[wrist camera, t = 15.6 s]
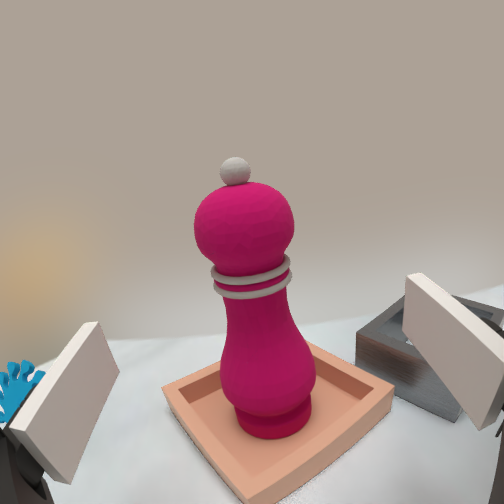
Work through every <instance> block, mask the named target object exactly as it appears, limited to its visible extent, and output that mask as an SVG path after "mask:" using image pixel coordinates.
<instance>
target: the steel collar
mask: <svg viewBox="0 0 504 504" xmlns="http://www.w3.org/2000/svg"><path fill="white" fill-rule="evenodd" d="M451 296H452V297H453V298H455V299H456V300H457V301H459V302H460V303H461V304H462V305H464V306H465V307H466V308H467V309H468V310H470V311H471V312H472V313H473V314H475V315H476V316H477V317H478V318H481V317H484V318H486V319H488V320H490V321H493V322H494V323H496V324H497V325H498V326H499V327H501V328H502V327H503V323H504V310H503V309H499V308H496V307H492V306H489V305H485V304H482V303H478V302H475V301H471V300H467V299H464V298H460V297H457V296H453V295H451ZM404 301H405V295H404V296H403V297H402V298H401V299H399V300H398V301H397V302H396V303H394V304H393V305H392V306H390V307H389V308H388V309H387V310H385V311H384V312H383V313H381V314H380V315H379V316H378V317H376V318H375V319H374V320H372V321H371V322H370V323H368V324H367V325H366V326H364V327H363V328H361V329H360V330H359V331H357V332H356V358H355V366H356V367H358V368H360V369H362V370H364V371H366V372H368V373H370V374H372V375H374V376H376V377H378V378H380V379H382V380H384V381H386V382H388V383H390V384H392V385H394V386H395V388H394V395H396V396H398V397H400V398H402V399H404V400H407V401H409V402H411V403H413V404H415V405H417V406H419V407H421V408H423V409H425V410H427V411H430V412H432V413H434V414H436V415H438V416H440V417H442V418H445V419H447V420H449V421H451V422H453V423H455V421H456V420H457V418H458V417H459V415H460V414H461V412H462V411H463V408H462V407H461V405H460V404H459V403H458V401H457V400H456V399H455V397H454V396H453V395H452V393H451V392H450V391H449V389H448V388H447V387H446V385H445V384H444V383H443V382H442V380H441V379H440V378H439V376H438V375H437V374H436V372H435V371H434V370H433V369H432V367H431V366H430V365H429V364H428V362H427V361H426V360H425V359H424V357H423V356H422V355H421V354H420V352H419V351H418V350H417V349H416V347H415V346H412V345H410V344H407V343H405V342H406V341H407V340H408V337H407V336H406V335H405V334H404V333H403V331H402V325H403V314H404Z"/></svg>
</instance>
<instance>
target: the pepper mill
mask: <svg viewBox="0 0 504 504" xmlns="http://www.w3.org/2000/svg"><path fill="white" fill-rule="evenodd" d="M250 173H251V172H250V167H249V165H248V163H247V162H246V161H245V160H243V159H241V158H238V157H234V158H229V159H228V160H226V161H225V162H224V163H223V164H222V166H221V169H220V176H221V178H222V180H223V182H224V183H225V184H227V186H224V187H222V188H219V189H217V190H215V191H214V192H212V193H211V194H209V195H208V196H207V197H206V198H205V199H204V200H203V201H202V202H201V204H200V206H199V207H198V209H197V212H196V214H195V221H194V233H195V239H196V242H197V246H198V248H199V249H200V251H201V253H202V254H203V255H204V256H205V257H207V258H208V259H209V260H211V261H212V262H213V263H214V264H215V265H214V266H213V267H212V269H211V276H212V277H213V278H214V290H215V291H216V292H217V293H218V294H220V295H221V296H223V300H224V304H225V307H226V314H227V337H226V342H225V346H224V350H223V353H222V357H221V362H220V380H221V386H222V390H223V393H224V395H225V397H226V398H227V399H228V401H229V402H230V403H231V404H233V405H234V409H235V413H236V416H237V420H238V422H239V425H240V426H241V427H242V429H243V430H244V431H246V432H247V433H249V434H251V435H253V436H255V437H259V438H263V439H279V438H283V437H287V436H289V435H291V434H293V433H296V432H297V431H299V430H300V429H301V428H302V427H303V426H304V425H305V424H306V423H307V422H308V420H309V418H310V416H311V411H312V405H311V394H310V393H311V391H312V390H313V388H314V385H315V382H316V368H315V362H314V358H313V355H312V353H311V350H310V348H309V346H308V344H307V343H306V341H305V340H304V338H303V336H302V335H301V333H300V332H299V330H298V328H297V327H296V325H295V323H294V321H293V318H292V316H291V313H290V310H289V306H288V301H287V292H286V286H287V285H288V283H289V282H290V281H291V278H292V273H291V271H290V269H289V266H290V259H289V257H288V256H287V255H286V254H284V251H285V250H286V248H287V247H288V245H289V243H290V242H291V239H292V237H293V234H294V219H293V214H292V211H291V208H290V206H289V204H288V202H287V200H286V199H285V198H284V196H283V195H282V194H281V193H280V192H279V191H277V190H275V189H274V188H272V187H270V186H268V185H264V184H261V183H254V182H247V181H248V179H249V178H250Z"/></svg>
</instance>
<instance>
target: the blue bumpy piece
mask: <svg viewBox="0 0 504 504" xmlns="http://www.w3.org/2000/svg"><path fill="white" fill-rule="evenodd" d="M7 367H8V371H9V376H8V374H7V373H5V372H0V385H1V387H2V389H3V393H2V391H0V405H1V406H2V408H3V409H4V412H5V414H4V413H3V412H1V411H0V423H4V422H7V423H8V421H9V420H10V418H11V417H12V415H13V414H14V412H15V411H16V409H17V408H18V407H20V404H21V402H22V401H23V400H24V398H25V396H26V395H27V394H28V392H29V391H30V389H32V388H33V387H34V386H35V385H36V384H38V383H39V382H40V381H41V379H42V378H43V377H44V375H45V374H46V373H45V372H44V371H40V370H38V371H36V373H35V375H34V377H33V379H32V380H31V381H29V382H28V381H27V377H28V375H29V374H31V373H33V372H34V369H35V367H34V365H33V364H32V363H31V362H29V361H26V360H23V361H22V363H21V371H20V365H19V364H18V363H15V362H8V365H7ZM19 371H20V375H19V377H18V379H17V374H18V373H19ZM8 382H9V386H8ZM3 394H4V396H3Z"/></svg>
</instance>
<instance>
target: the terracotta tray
mask: <svg viewBox="0 0 504 504" xmlns="http://www.w3.org/2000/svg"><path fill="white" fill-rule="evenodd" d="M305 341H306V340H305ZM306 343H307V344H308V346H309V348H310V350H311V353H312V355H313V358H314V362H315V368H316V382H315V385H314V388H313V390H312V391H311V393H310V394H311V405H312V411H311V416H310V418H309V420H308V422H307V423H306V424H305V425H304V426H303V427H302V428H301V429H300V430H299V431H297V432H296V433H293V434H291V435H289V436H287V437H283V438H279V439H263V438H259V437H255V436H253V435H251V434H249V433H247V432H246V431H244V430H243V429H242V427H241V426H240V425H239V422H238V420H237V416H236V413H235V409H234V405H233V404H231V403H230V402H229V401H228V399H227V398H226V397H225V395H224V393H223V390H222V386H221V380H220V362H221V360H220V361H218V362H216V363H214V364H212V365H210V366H208V367H206V368H203V369H201V370H199V371H197V372H195V373H193V374H190V375H188V376H186V377H184V378H181V379H179V380H177V381H175V382H172V383H170V384H168V385H166V386H163V387H161V388H162V391H163V393H164V395H165V398H166V400H167V402H168V404H169V407H170V409H171V411H172V412H173V414H174V415H175V417H176V418H177V420H178V421H179V423H180V424H181V425H182V427H183V428H184V430H185V431H186V433H187V434H188V435H189V437H190V438H191V439H192V441H193V442H194V444H195V445H196V446H197V448H198V449H199V450H200V452H201V453H202V454H203V456H204V457H205V458H206V459H207V461H208V462H209V463H210V465H211V466H212V467H213V468H214V470H215V471H216V472H217V473H218V475H219V476H220V477H221V478H222V479H223V481H224V482H225V483H226V484H227V485H228V487H229V488H230V489H231V490H232V491H233V493H234V494H235V495H236V496H237V497H238V498H239V499H240V501H241V502H242V503H243V504H275V503H277V502H278V501H280V500H281V499H283V498H284V497H286V496H287V495H289V494H290V493H292V492H293V491H295V490H296V489H298V488H299V487H301V486H302V485H303V484H305V483H306V482H308V481H309V480H310V479H312V478H313V477H314V476H316V475H317V474H318V473H320V472H321V471H322V470H324V469H325V468H326V467H327V466H329V465H330V464H331V463H332V462H334V461H335V460H336V459H337V458H339V457H340V456H341V455H342V454H343V453H345V452H346V451H347V450H348V449H349V448H351V447H352V446H353V445H354V444H355V443H356V442H357V441H359V440H360V439H361V438H362V437H363V436H364V435H365V434H366V433H367V432H368V431H370V430H371V429H372V428H373V427H374V426H375V425H376V424H377V423H378V422H379V421H380V420H381V419H382V418H383V417H384V416H385V415H386V414H387V413H388V412H389V411H390V410H391V405H392V399H393V394H394V388H395V386H394V385H392V384H390V383H388V382H386V381H384V380H382V379H380V378H378V377H376V376H374V375H372V374H370V373H368V372H366V371H364V370H362V369H360V368H358V367H356V366H354V365H352V364H350V363H348V362H346V361H344V360H342V359H340V358H338V357H336V356H334V355H333V354H331V353H329V352H327V351H325V350H323V349H321V348H319V347H317V346H315V345H313V344H312V343H310V342H308V341H306Z"/></svg>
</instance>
